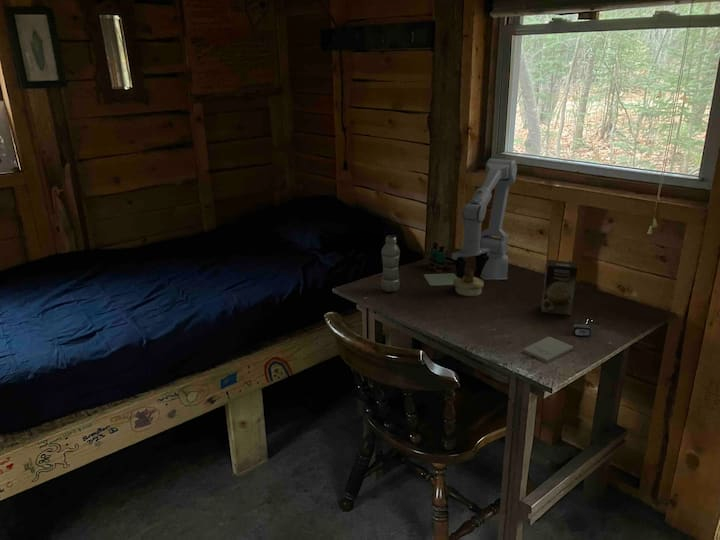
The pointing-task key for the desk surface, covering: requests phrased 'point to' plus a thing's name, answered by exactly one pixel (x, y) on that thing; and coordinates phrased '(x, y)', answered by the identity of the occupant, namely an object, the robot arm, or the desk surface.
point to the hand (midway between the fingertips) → (469, 276)
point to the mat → (440, 279)
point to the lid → (468, 281)
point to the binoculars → (439, 259)
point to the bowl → (468, 292)
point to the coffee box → (559, 287)
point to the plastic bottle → (390, 265)
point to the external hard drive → (547, 349)
